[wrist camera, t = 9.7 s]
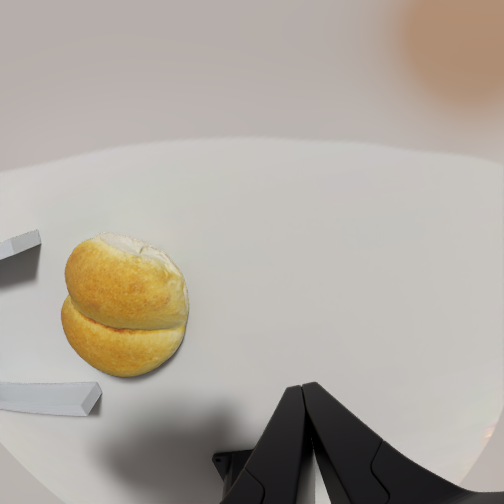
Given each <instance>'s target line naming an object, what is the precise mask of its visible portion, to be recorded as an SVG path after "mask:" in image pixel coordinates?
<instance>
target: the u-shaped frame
mask: <svg viewBox="0 0 504 504" xmlns="http://www.w3.org/2000/svg"><path fill="white" fill-rule="evenodd" d="M39 244H41V241H40V238H39V234H38V230H34V231H31V232H28V233H25V234H22V235H19V236H16V237H14V238H11V239H8V240H6V241H3V242H1V243H0V260H1V259H4V258H6V257H9V256H12V255H15V254H17V253H19V252H22V251H24V250H27V249H29V248H31V247H34V246H36V245H39ZM101 393H102V391H101V389H100V388H99V386H98V384H97V382H91V383H54V384H35V383H0V409H4V410H12V411H20V412H29V413H40V414H53V415H69V416H87V415H88V414H89V412H90V411H91V409H92V408H93V406H94V404H95V403H96V401H97V400H98V398H99V397H100V395H101Z"/></svg>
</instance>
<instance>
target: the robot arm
mask: <svg viewBox="0 0 504 504" xmlns="http://www.w3.org/2000/svg"><path fill="white" fill-rule="evenodd" d="M311 438H312V439H311ZM312 443H313V444H312ZM313 449H314V450H313ZM314 453H315V457H316V460H317V463H318V466H319V469H320V472H321V475H322V478H323V481H324V484H325V487H326V490H327V493H328V496H329V498H330V501H331V504H504V492H474V491H470V490H466V489H464V488H461V487H459V486H457V485H455V484H453V483H451V482H449V481H447V480H445V479H443V478H442V477H440V476H438V475H436V474H434V473H432V472H431V471H429V470H427V469H425V468H423V467H422V466H420V465H418V464H417V463H415V462H413V461H412V460H410V459H409V458H407V457H406V456H404V455H403V454H401V453H400V452H399V451H397V450H396V449H395V448H393V447H392V446H391V445H390V444H389V443H387V442H386V441H383V439H382V438H381V437H380V436H379V435H378V434H376V433H375V432H374V431H373V430H372V429H370V428H369V427H368V426H367V425H366V424H364V423H363V422H362V421H361V420H360V419H358V418H357V417H356V416H355V415H354V414H353V413H351V412H350V411H349V410H348V409H347V408H346V407H344V406H343V405H342V404H341V403H340V402H339V401H338V400H336V399H335V398H334V397H333V396H332V395H331V394H330V393H328V392H327V391H326V390H325V389H324V388H323V387H322V386H321V385H319V384H318V383H317V382H311V383H306V384H303V385H302V387H301V385H296V386H292V387H287V388H286V390H285V392H284V394H283V396H282V398H281V400H280V402H279V404H278V406H277V407H276V409H275V411H274V413H273V415H272V417H271V419H270V421H269V423H268V425H267V427H266V428H265V430H264V432H263V434H262V436H261V438H260V440H259V441H258V443H257V445H256V447H255V449H254V450H246V451H237V452H227V453H216V454H214V455H213V457H212V461H213V463H214V465H215V467H216V469H217V470H218V472H219V474H220V476H221V478H222V480H223V481H224V489H223V498H222V501H221V502H220V504H315V461H314Z"/></svg>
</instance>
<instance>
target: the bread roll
mask: <svg viewBox="0 0 504 504" xmlns="http://www.w3.org/2000/svg"><path fill="white" fill-rule="evenodd" d="M65 280H66V284H67V289H68V292H69V295H68V296H67V298H66V300H65V301H64V304H63V307H62V311H61V320H62V325H63V329H64V332H65V335H66V337H67V340H68V342H69V343H70V345H71V347H72V348H73V349H74V350H75V351H76V352H77V354H78V355H79V356H80V357H81V358H83V359H84V360H85V361H86V362H87V363H89V364H90V365H91V366H93V367H95V368H96V369H98V370H100V371H102V372H104V373H107V374H109V375H113V376H118V377H132V376H137V375H141V374H144V373H146V372H149V371H151V370H154V369H155V368H157V367H158V366H160V365H161V364H162V363H164V362H165V361H166V360H167V359H169V358H170V357H171V356H172V355H173V354H174V353H175V351H176V350H177V349H178V347H179V345H180V344H181V342H182V340H183V337H184V333H185V325H186V322H187V316H188V313H189V300H188V290H187V287H186V284H185V280H184V277H183V275H182V273H181V272H180V270H179V269H178V267H177V266H176V265H175V264H174V262H173V261H172V260H171V259H170V258H169V257H168V255H167V254H166V253H165V252H163V251H161V250H159V249H157V248H155V247H152V246H150V245H148V244H146V243H145V242H142V241H139V240H136V239H133V238H130V237H126V236H122V235H119V234H115V233H103V232H102V233H99V234H98V235H97V236H95V237H93V238H92V239H89V240H86V241H84V242H82V243H81V244H79V245H78V246H77V247H76V248H75V249H74V250H73V252H72V254H71V255H70V257H69V259H68V261H67V264H66V267H65Z"/></svg>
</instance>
